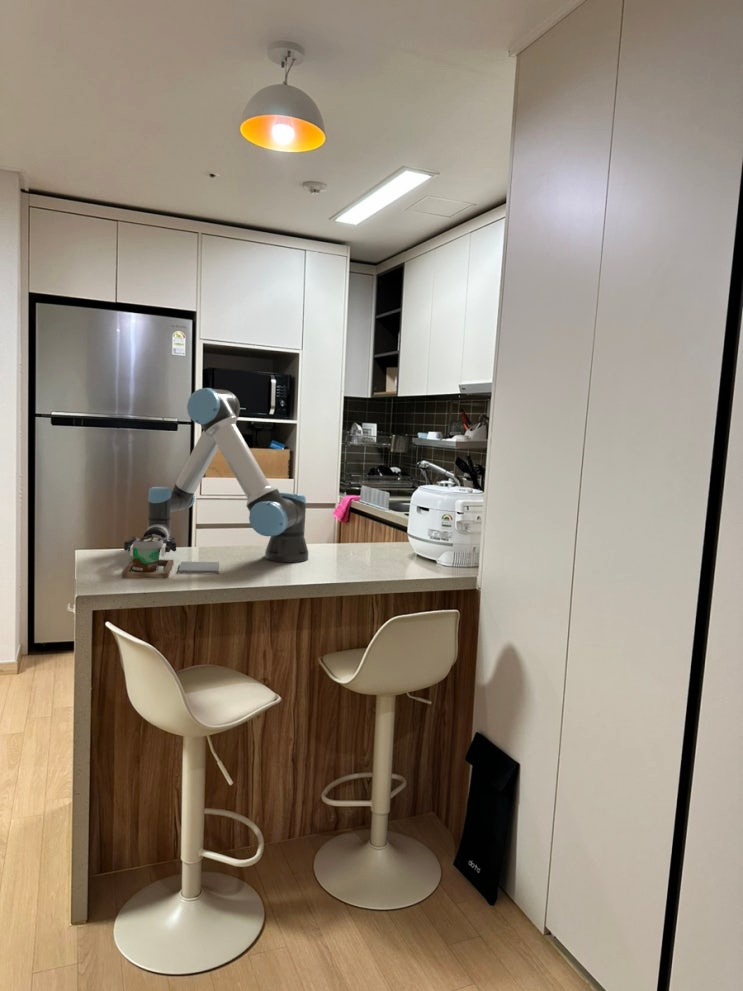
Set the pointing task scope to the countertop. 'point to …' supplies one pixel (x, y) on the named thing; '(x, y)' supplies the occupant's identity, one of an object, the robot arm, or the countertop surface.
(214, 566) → the plate
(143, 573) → the walnut holder
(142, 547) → the food container
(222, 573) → the countertop surface
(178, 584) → the countertop surface
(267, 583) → the countertop surface
